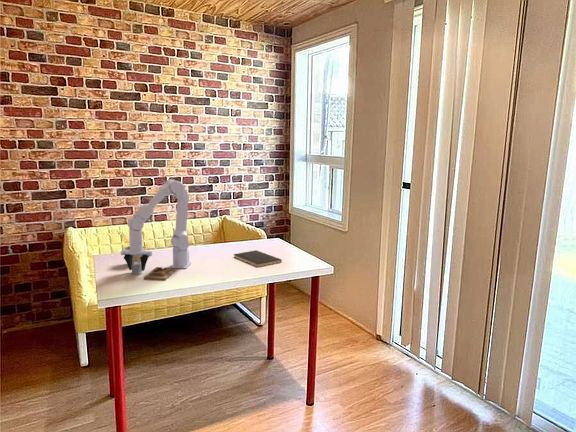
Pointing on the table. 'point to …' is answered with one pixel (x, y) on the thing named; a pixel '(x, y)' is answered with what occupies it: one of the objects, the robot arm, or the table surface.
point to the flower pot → (134, 256)
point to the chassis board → (159, 274)
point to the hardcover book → (257, 258)
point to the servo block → (136, 268)
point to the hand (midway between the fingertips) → (137, 269)
